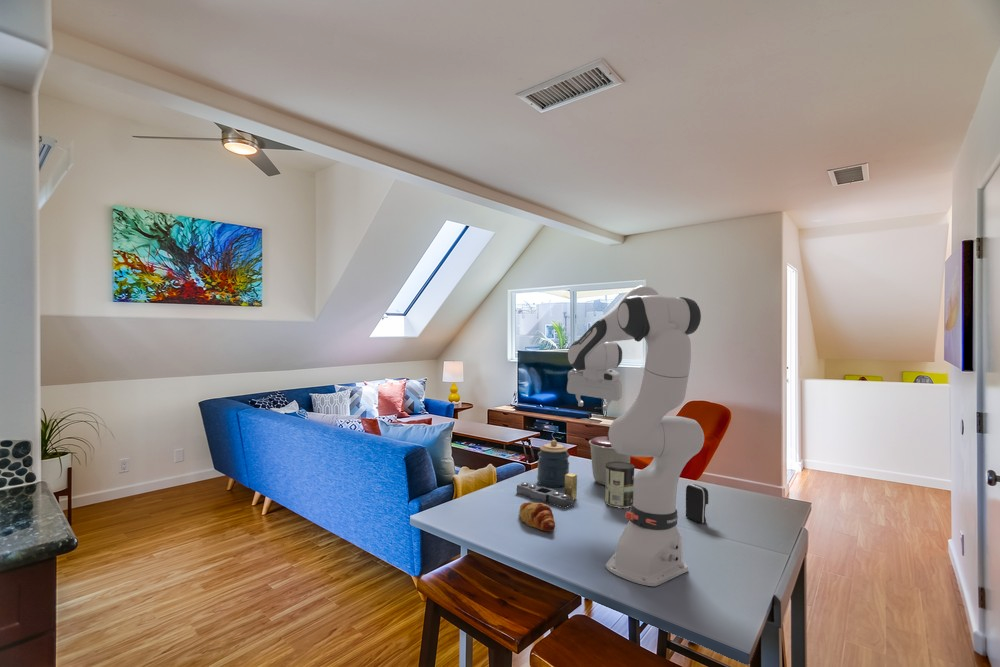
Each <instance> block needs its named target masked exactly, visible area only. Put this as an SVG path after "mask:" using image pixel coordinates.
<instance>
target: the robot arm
mask: <svg viewBox="0 0 1000 667" xmlns="http://www.w3.org/2000/svg"><path fill="white" fill-rule="evenodd" d="M701 320H702V313H701V309H700V307H699V305H698V303H697V302H696V301H695V300H694V299H692V298H688V297H684V296H683V297H682V296H678V297H675V296H670V295H669V296H667V295H660V294H659V292H658V291H657V290H655V289H654V288H653V287H651V286H648V285H638V286H636V287H635V288H633V289H632V290H630V291H629V292H628V293H627V294H626V295H625V296H624V297H623V298H622V300H621V301H620V302H619V303H618V305H617V307H616V308H615V309H613V310H612V311H611V312H610V313H608V314H606V315H605V316H604V317H602V318H600V319H599V320H597V321H596V322H594V323H593V324H592V325H591V326H590V327H589V328H588V330H587V331H585V333H584V334H583V335H582V336H581V337H580V338H579V339H578V340H575V341H574V342H573V343H572V344H571V345H570V346H569V348H568V350H567V360H568V363H569V365H570V366H571V367H572V369H570V370H568V372H567V384H566V392H567V393H568V394H571V395H572V394H573V395H575V398H576V401H577V402H578V403H577V406H578V407H583V406H584V401H583V400H582V399H581V397H582V396H583V397H584V396H585V397H591V398H597V399H603V400H606V404H603V405H602V411H605V412H607V411H608V410H609V405H610V404H611V403H612V401H615V402H618V401H620V400H621V399H622V397H623V385H622V381H621V380H620V377H621V373H620V372H619V371H617V370H614V369H617V368H618V367H619V366H620V365H621V363H622V361H623V350H622V349H623V348H622V347H621V346H620V344H618V343H617V342H619V341H631V340H634V341H635V342H641V341H642V340H643V339H644V340H645V342H646V344H647V353H646V358H645V364H644V369H643V376H642V381H641V386H640V389H639V392H638V395H637V397H636V399H635V401H634V402H633V403H632V405H631V406H630V407H629V408H628V409H627V411H625V412H624V413H622V414H621V415H620V416H618V417H616V418H615V419H614V420H613V421H612V422H611V424H610V427H609V429H608V432H609V434H608V435H609V441H610V444H611V446H612V448H613V449H614V450H615V451H616V452H617V453H619V454H623V455H627V456H631V457H633V458H639V457H641V458H652V460H651V462H650V463H649V464H648V465H647V466H646V467H645V468H642V469H641V470H639V471H638V472H637V473H636V475H634V491H633V504H632V506H631V508H630V510H629V511H628V510H627V511H625V515H624V517H625V519H626V520H629V521H628V522H627V525H626V527H625V528H624V530H623V532H622V534H621V535H620V537H619V539H618V541H617V542H616V547H615V552H614V553H613V554H612V555H611V557H610V558H609V559H608V561H607V562H606V563H605V569H606V570H607V571H609V572H611V573H612V574H614V575H615V576H618V577H619V578H623V579H625V580H628V581H629V582H632V583H636V584H639V585H644V586H649V587H658V586H659V585H662V584H664V583H666V582H669V581H670V580H673V579H674V578H676V577H678V576H679V577H680V576H681V575H682V574H684V573H688V572H689V568H688V567H689V566H688V565H687V564H686V563H685V562H684V556H683V553H684V552H683V549H684V548H683V536H682V535H681V533H680V531H679V530H678V527H677V525H678V518H679V516H678V510H677V508H676V506H677V493H678V492H677V491H678V483H679V479H680V476H681V474H682V471H683V469H684V468H685V467H686V465H687V463H688V462H689V461H690V460H691V459H692V458H693V457H694V456H696V455H697V454H699V453H700V452H701V450H702V448H703V446H704V443H705V434H704V430H703V428H702V427H701V425H700V424H699V422H698V421H697V420H696V419H693V418H689V417H685V416H679V415H667V414H668V413H670V412H671V411H674V410H675V409H677V408H678V407H680V406H681V405H682V403H683V402H684V400H685V398H686V395H687V394H686V392H687V388H688V382H689V376H690V369H691V360H692V346H691V345H692V344H691V339H690V337H689V335H691V334H694V333H695V332H696V331H697V330H698V328H699V326H700V323H701Z"/></svg>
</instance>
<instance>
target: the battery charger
mask: <svg viewBox="0 0 1000 667" xmlns="http://www.w3.org/2000/svg"><path fill="white" fill-rule="evenodd" d="M707 505H709V491H708V489H707V488H706V487H704V486H702V485H698V484H697V483H696V484H695V483H692V484H688V485H686V488H685V517H686V518H687V519H690V520H692V521H694V522H695V523H698V524H704V523H706V522H707V518H706V506H707Z"/></svg>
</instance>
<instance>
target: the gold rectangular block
mask: <svg viewBox="0 0 1000 667" xmlns="http://www.w3.org/2000/svg"><path fill="white" fill-rule="evenodd" d="M577 485H578V475H577V474H576V473H575V474H574V473H571V472H569V473H568V474H566V475H565V486H564V493H563V494H567V495H570V496H573V499H576V500H577V495H578V494H577V492H578V491H577V490H578V486H577Z"/></svg>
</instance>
